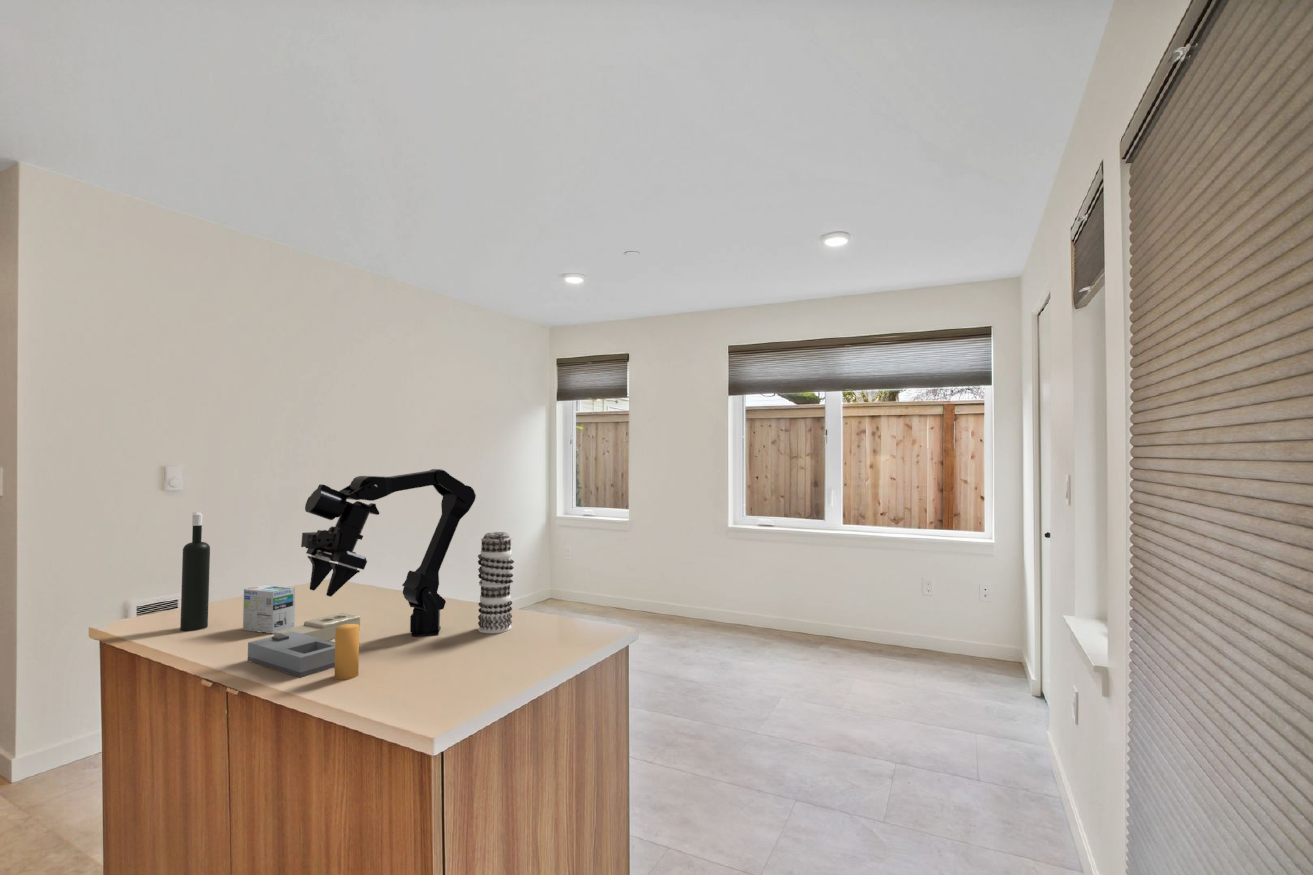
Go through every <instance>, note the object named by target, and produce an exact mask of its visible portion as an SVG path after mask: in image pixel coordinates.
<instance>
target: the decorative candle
mask: <svg viewBox="0 0 1313 875" xmlns="http://www.w3.org/2000/svg"><path fill="white" fill-rule="evenodd" d="M480 540H481V549H480V554H478V555H477V557H478V559H479V560H477V563H478V566H479V568H478V569H477V570H478V573H479V574H477V576H478V579H480V580H479V582H478V585H479V586H480V595H479V602H478V603H477V604H478V607H480V608H478V610H477V611H478V613H479V615H478V616H477V617H478V620H479V621H478V623H477V624H478V626H479V627H478V628H477V629H478V632H480V633H483V634H502V633H506V632H508V631H510V630H512V625H511V624H512V623H513V621H512V617H513V615H512V613H511V612H512V610H513V607H512V606H511V605H512V604H513V602H512V595H511V585H512V584H513V582H514V580H513V579H512V578H513V576H514V574H513V573H512V572H511V571H512V570H513V569H514V566H513V564H514V563H515V561H514V560H513V559H511V556H512V554H513V553H512V552H513V551H512V549H511V545H512V540H513V538H512V537H511V536H510V535H509V534H508V533H507V532H504V531H499V532H498V531H492V532H491V531H490V532H486V533H485V534H484V535H483V538H480ZM511 564H512V565H511Z"/></svg>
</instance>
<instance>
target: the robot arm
mask: <svg viewBox="0 0 1313 875" xmlns="http://www.w3.org/2000/svg"><path fill="white" fill-rule="evenodd" d="M428 486H432V487H433V489H435V491H436V492H437V493H438V494H439V495H441V497H442V500H441V503H440V504H441V506H440V507H441V516H440V518H439V521H438V522H437V525H436V527H435V530H434V532H433V534H432V537H431V539H430V543H429V544H428V546H427V549H426V551H425V554H424V556H423V558H422V560H421V562H420V565H419V566H418V568H417V569H416V570H408V572H407V574H406V575H407V576H406V579H405V580H404V582H403V583H402V584H401V586H402V587H403V589H402V594H403V598H404V599H405V600H406V601H407V602H408V605H409V607H410V608H413V609H412V613H411V615H410V617H409V618H410V620H409V623H410V624H409V632H411V634H410V635H411V637H416V636H417V637H420V636H421V637H422V636H436V635H439V634H440V630H441V629H442V626H441V625H440V622H441V610H444V608H445V606H446V599H445V598H443V597H442V595H441V594H439V593H438V590H439V585H440V574H439V573H440V569H441V567H442V565H443V562H444V559H445V557H446V555H447V552H448V549H449V548H450V544H451V542H452V540H453V537H454V535H455V533H456V530H457V528H458V525H459V522H460V521H461V519H462V518H463V517H464V516H465V515H466V514H467V513H468V512H469V511H470V510H471V508H472V506H473V505H474V503H475V501H476V498H477V497H476V496H477V495H476V493H475V490H474V489H473V487H471V486H470V485H466V484H465V483H463V482H462V481H460V480H459V479H457V478H456V477H454V476H452V475H451V474H450V473H448V472H447V471H446V470H444V469H442V468H440V469H439V468H433V469H430V470H425V471H424V470H423V471H417V472H411V473H406V474H403V473H402V474H398V475H391V476H380V475H379V476H378V475H377V476H374V475H360V476H359V475H358V476H356V477H354V478H353V479H352V480H351V482H350V484H349V485H347V486H345V487H344V488H342V489H341V490H337V489H333V488H331V487H330V486H328V485H325V484H320V483H319V485H318V486H317V488H315V490H314V491H313V492H312V493H311V494H310V496H308V498H307V500H306V502H305V504H304V505H305V506H304V509H305V512H306V513H308V514H312V515H315V516H318V517H320V518H323V519H326V520H328V521H333V520H334V519H335V518H336V519H337V518H338V519H337V521H336V524H335V526H330V527H329V528H328V530H327V529H323V530H322V529H321V530H320V529H318V530H317V531H314V532H313V531H312V532H302V533H301V544H300V546H301V548H305V549H307V550H306V552H305V554H307V558H308V559H309V561H310V563H311V574H310V575H311V577H310V583H309V590H310V591H316V589H318V587H319V586H320V585H321V584H322V582H323V581H324V580H325V579H326V577H327V576H328V575H329V574H330V572H331V571H332V573H331V577H330V579H329V584H328V586H327V588H326V594H325V596H326V597H333V595H335V594H336V593H337V592H338V591H339V590H340V589H341V588H342V587H343V586H344V585H345V584H347V582H349V581H350V580H351V579H352V578H353V577H354V576H356V575H357V574H359V573H360V572H361V570H363V571H364V570H365V568H366V565H367V563H368V560H367V558H366V556H363V555H361V554H357V553H356V552H355V551H354V550H355V547H356V545H357V542H358V541H359V540H360V541H361V540H363V537H364V535H363V534H362V532H363V530H364V527H365V525H366V523H367V520H368V518H369V515H370V514H371V515H376V516H378V515H380V511H379V509H378V508H377V503H375V502H373V501H376V500H379V499H382V498H385V497H388V496H389V495H391V494H393V493H396V492H400V491H406V490H407V491H408V490H411V489H412V490H413V489H418V488H424V487H428ZM347 500H352V501H353V500H354V502H353V503H352V502H350V501H347ZM362 501H368V502H369V501H370V502H371V501H372V502H373V503H372V502H371V503H369V504H367V503H365V502H362ZM336 562H337V563H336Z"/></svg>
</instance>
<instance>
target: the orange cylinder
mask: <svg viewBox="0 0 1313 875" xmlns="http://www.w3.org/2000/svg"><path fill="white" fill-rule="evenodd" d="M334 640H335V641H334V642H335V667H334V679H335V680H338V681H339V680H341V681H342V680H343V681H344V680H351V679H354V678H356V677H358V676H359V664H360V663H359V662H360V660H359V658H360V657H359V656H360V632H359V625H358V624H345V625H340V626H337V627H336V633H335V639H334ZM350 678H351V679H350Z"/></svg>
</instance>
